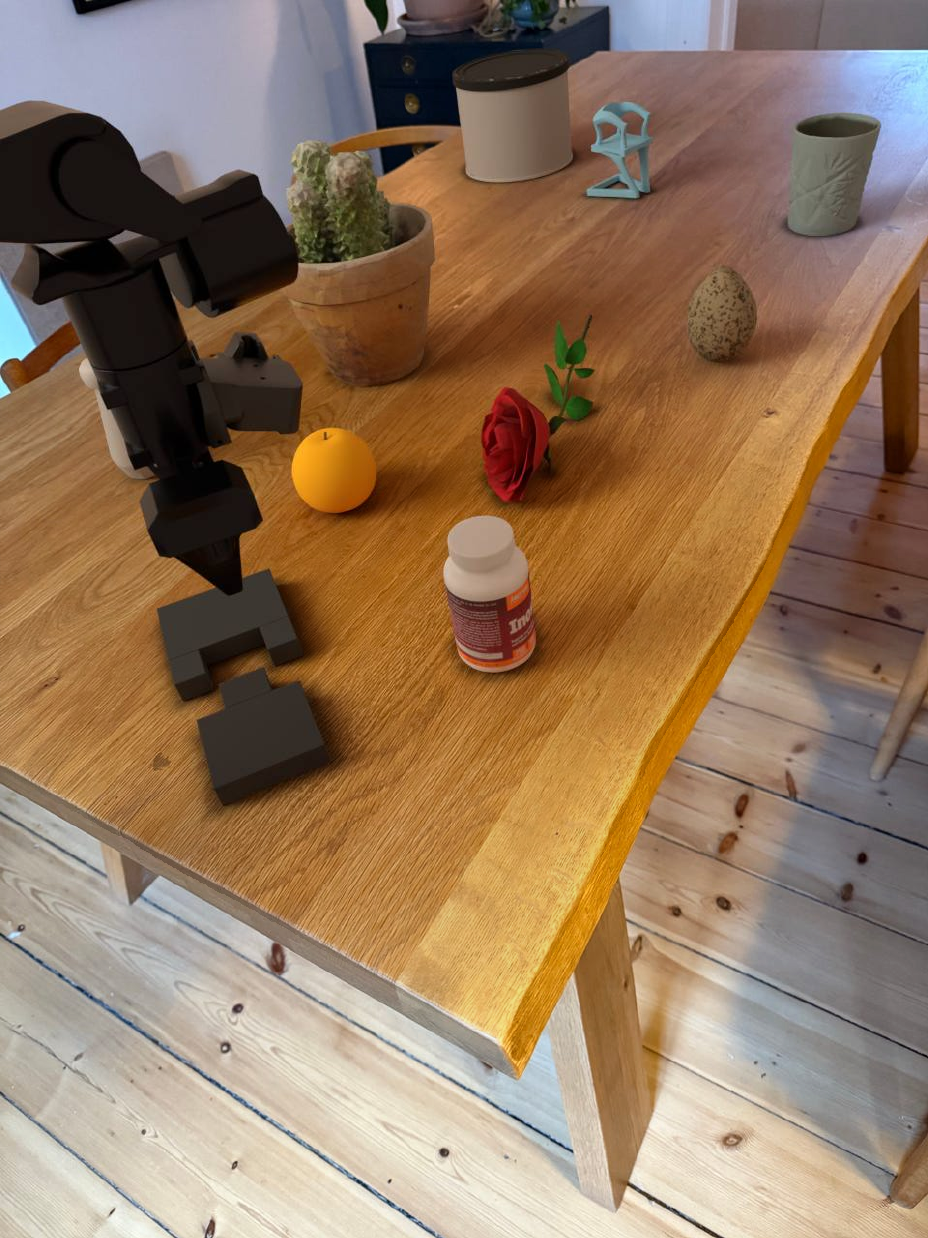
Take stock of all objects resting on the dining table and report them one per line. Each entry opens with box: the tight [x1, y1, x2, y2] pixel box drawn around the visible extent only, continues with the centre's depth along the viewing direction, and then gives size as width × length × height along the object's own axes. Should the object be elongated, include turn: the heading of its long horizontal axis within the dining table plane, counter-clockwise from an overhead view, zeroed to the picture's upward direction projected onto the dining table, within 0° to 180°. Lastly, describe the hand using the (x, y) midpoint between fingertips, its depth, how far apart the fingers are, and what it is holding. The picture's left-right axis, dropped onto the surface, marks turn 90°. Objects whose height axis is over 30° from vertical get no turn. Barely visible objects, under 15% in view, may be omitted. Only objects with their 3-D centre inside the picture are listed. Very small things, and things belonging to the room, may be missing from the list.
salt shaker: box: [78, 357, 155, 480], centre depth 92 cm, size 6×6×13 cm
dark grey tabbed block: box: [196, 666, 332, 806], centre depth 65 cm, size 8×10×2 cm
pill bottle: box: [442, 515, 537, 673], centre depth 66 cm, size 6×6×11 cm
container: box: [451, 48, 574, 183], centre depth 149 cm, size 19×19×15 cm
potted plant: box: [279, 139, 436, 388], centre depth 98 cm, size 18×19×25 cm
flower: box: [480, 314, 596, 503], centre depth 89 cm, size 9×9×30 cm
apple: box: [291, 427, 377, 514], centre depth 84 cm, size 8×8×8 cm
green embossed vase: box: [787, 112, 882, 237], centre depth 114 cm, size 10×10×12 cm
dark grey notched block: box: [156, 568, 305, 702], centre depth 74 cm, size 10×10×2 cm
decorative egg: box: [685, 265, 758, 362], centre depth 93 cm, size 7×7×10 cm
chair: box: [586, 101, 654, 199], centre depth 133 cm, size 8×8×12 cm
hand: (221, 555), depth 62 cm, fingers open, 9 cm apart
